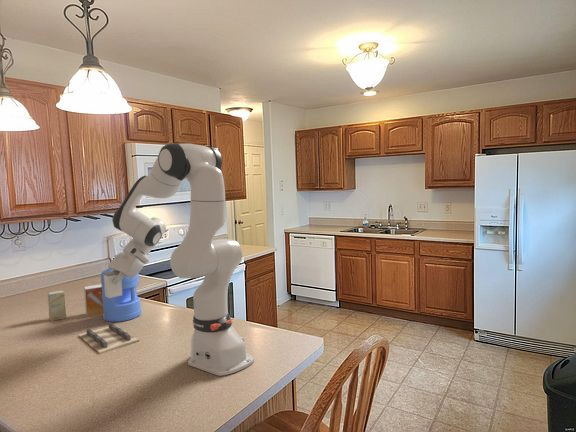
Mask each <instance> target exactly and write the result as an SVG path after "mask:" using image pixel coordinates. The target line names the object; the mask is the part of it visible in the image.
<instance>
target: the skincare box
mask: <svg viewBox="0 0 576 432" xmlns="http://www.w3.org/2000/svg"><path fill="white" fill-rule="evenodd" d="M65 293H66V292H65V291H64V290H62V289H61V290H58V291H51V292H47V301H48V316H49V317H48V318H49V320H50V322H53V321H57V320H63V319H64V320H65V319H66V318H67V311H66V298H65Z"/></svg>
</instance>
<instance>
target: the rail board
mask: <svg viewBox="0 0 576 432" xmlns="http://www.w3.org/2000/svg"><path fill="white" fill-rule="evenodd" d="M78 337H79V338H81V339H82V340H83V341H84V342H85V343H86V344H88V345H89V346H90V347H91V348H93V349H94V351H96V352H97V353H98V354H102V353H106V352H109V351H113V350H116V349H119V348H122V347H125V346H128V345H131V344H134V343H139V342H140V339H138V338H137V337H135V336H134V335H132V334H130V333H129V332H128V331H126V330H124V329H123V328H121V327H120V326H118V325H117V324H114V323H113V322H109V323H108V326H105V327H102V328H98V329H94V330H91V329H90V328H86V332H83V333H79V334H78Z"/></svg>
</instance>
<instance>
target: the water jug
mask: <svg viewBox="0 0 576 432" xmlns="http://www.w3.org/2000/svg"><path fill="white" fill-rule="evenodd" d="M117 255H118V254H116V255H114V258H115V257H116V256H117ZM111 271H112V269H110V268H109V267H108V268H107V269H105V270H103V271H102V272H100V284H102V301H103V310H104V314H102V315H103V319H104V321H106V322H109V323H120V322H127V321H130V320H132V319H136V318H138V317H140V315H141V314H142V307H141V298H140V297H139V296H138V293H137V286H138V285H139V284H140V282H139V278H140V275H139V273H138V274H137V275H136V276H135V277H133V278H130V277H127V276H125V277H124V278H123V279H122V280H121V282H122V295H121V296H117V297H112V298H108V297H106V296H105V286H104V273H107V272H111Z"/></svg>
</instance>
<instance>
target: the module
mask: <svg viewBox="0 0 576 432" xmlns="http://www.w3.org/2000/svg"><path fill="white" fill-rule="evenodd" d="M119 273H120V272H119V271H113V272H107V273H104V286H105V296H106V297H108V298H112V297H117V296H121V295H122V282H121V280H120V281H119V282H118V283H117V284H116V285H115V284H113V283H112V280H113V279H114V278H116V277H117V276H118V274H119Z"/></svg>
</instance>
